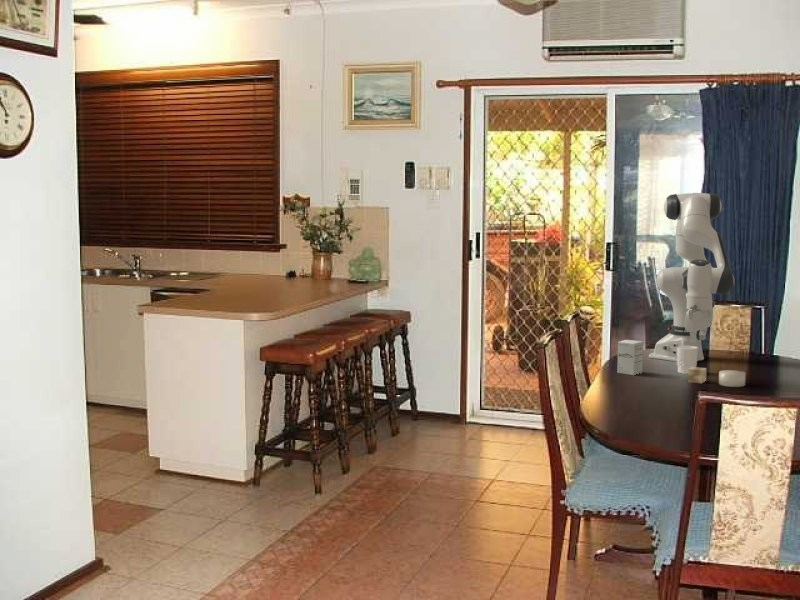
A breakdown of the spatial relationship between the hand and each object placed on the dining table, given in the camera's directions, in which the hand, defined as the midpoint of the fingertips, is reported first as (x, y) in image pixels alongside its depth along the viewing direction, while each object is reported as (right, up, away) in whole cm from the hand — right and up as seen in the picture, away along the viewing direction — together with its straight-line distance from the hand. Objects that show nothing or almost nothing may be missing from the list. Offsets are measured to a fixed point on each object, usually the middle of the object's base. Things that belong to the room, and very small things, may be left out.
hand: (698, 341), depth 325 cm
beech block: (0, -15, +2) cm, 15 cm away
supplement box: (-20, -14, +20) cm, 31 cm away
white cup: (+2, -13, +19) cm, 23 cm away
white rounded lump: (+11, -16, -4) cm, 20 cm away
